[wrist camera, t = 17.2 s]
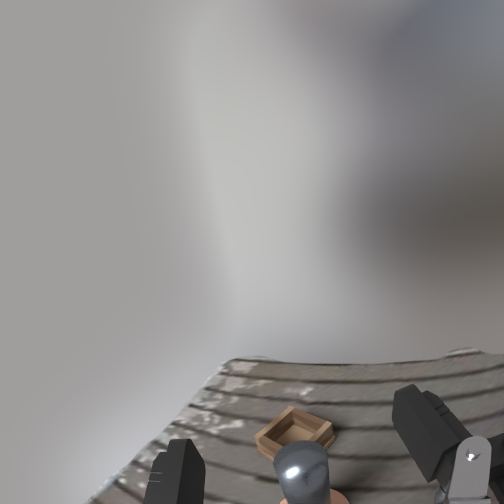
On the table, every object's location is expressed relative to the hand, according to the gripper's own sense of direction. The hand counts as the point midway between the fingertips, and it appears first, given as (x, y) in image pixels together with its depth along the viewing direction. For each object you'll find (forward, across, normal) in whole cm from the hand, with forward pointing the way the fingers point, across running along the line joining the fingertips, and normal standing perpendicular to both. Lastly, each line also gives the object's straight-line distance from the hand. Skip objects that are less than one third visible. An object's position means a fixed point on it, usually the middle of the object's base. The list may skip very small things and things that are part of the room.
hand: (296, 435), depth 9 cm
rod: (+8, 0, +30) cm, 31 cm away
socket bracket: (+22, 0, +30) cm, 37 cm away
